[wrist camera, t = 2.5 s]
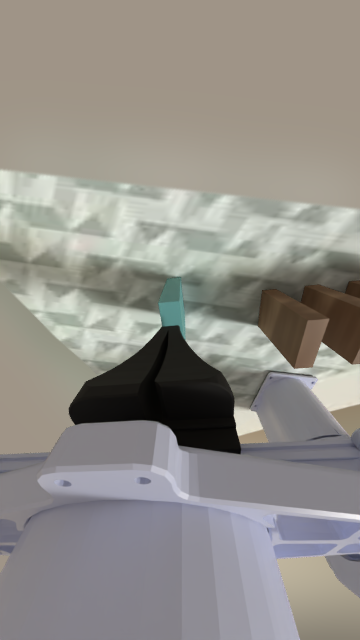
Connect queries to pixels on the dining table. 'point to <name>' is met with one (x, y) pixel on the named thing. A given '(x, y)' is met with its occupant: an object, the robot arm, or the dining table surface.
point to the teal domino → (172, 305)
